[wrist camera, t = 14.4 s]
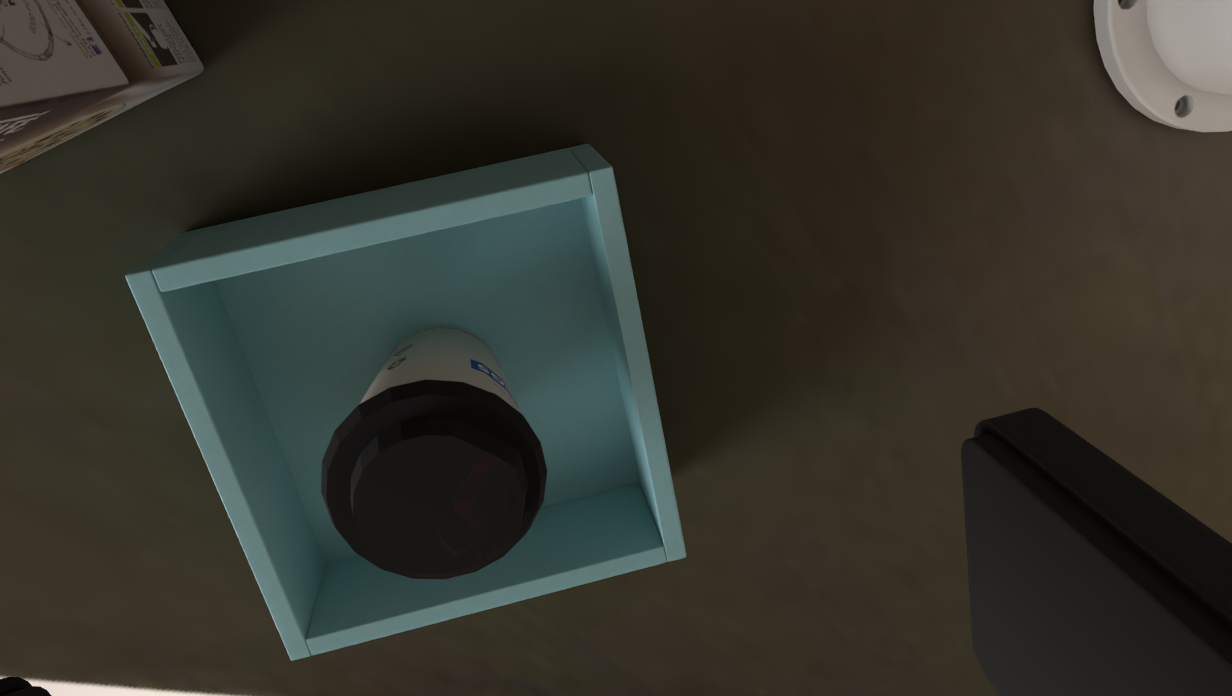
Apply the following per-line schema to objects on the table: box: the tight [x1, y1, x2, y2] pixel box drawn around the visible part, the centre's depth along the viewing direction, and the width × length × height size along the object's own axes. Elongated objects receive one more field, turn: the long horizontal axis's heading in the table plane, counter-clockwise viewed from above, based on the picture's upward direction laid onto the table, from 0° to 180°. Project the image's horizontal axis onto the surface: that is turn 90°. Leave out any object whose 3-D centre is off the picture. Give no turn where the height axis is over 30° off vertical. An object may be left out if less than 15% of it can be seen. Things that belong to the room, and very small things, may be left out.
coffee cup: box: [321, 324, 547, 579], centre depth 30 cm, size 7×7×10 cm
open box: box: [125, 144, 687, 661], centre depth 33 cm, size 16×16×6 cm
